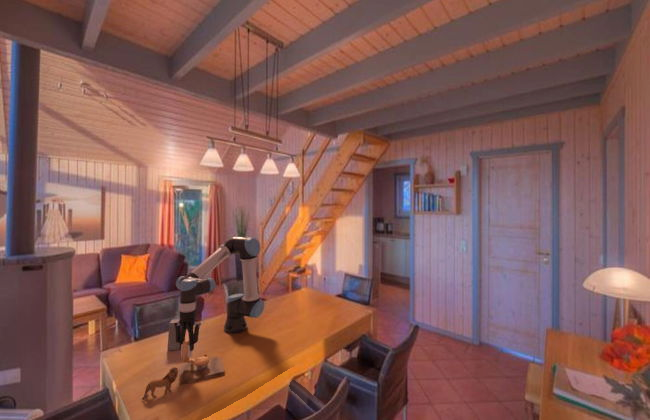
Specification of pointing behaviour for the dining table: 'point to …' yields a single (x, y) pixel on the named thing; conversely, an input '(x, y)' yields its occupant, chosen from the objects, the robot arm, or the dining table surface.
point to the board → (200, 371)
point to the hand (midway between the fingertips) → (186, 356)
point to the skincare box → (173, 336)
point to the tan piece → (197, 362)
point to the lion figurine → (162, 382)
